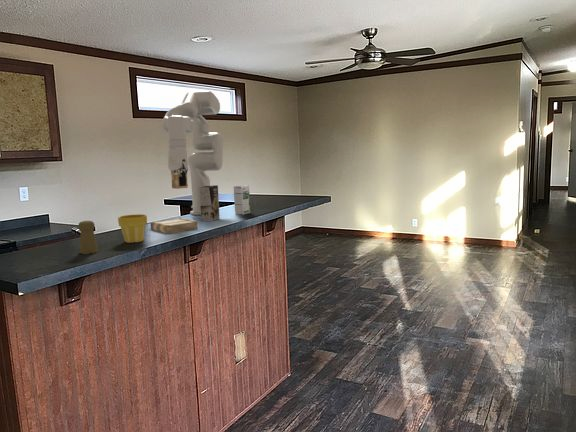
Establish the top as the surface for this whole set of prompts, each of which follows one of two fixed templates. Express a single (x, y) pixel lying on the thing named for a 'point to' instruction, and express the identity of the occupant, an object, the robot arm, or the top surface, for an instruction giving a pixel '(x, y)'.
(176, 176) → the tan upright block
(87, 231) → the cork
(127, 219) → the plant pot
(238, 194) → the syrup box
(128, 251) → the top surface
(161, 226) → the dock
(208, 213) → the coffee box
